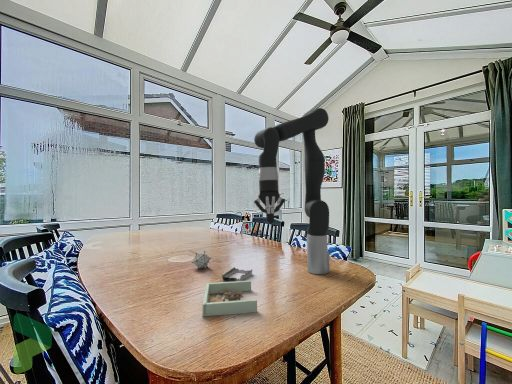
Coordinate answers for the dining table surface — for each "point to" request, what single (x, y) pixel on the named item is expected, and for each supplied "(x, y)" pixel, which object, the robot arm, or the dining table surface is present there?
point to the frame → (228, 306)
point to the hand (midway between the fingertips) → (270, 223)
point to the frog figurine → (229, 295)
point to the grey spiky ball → (201, 260)
